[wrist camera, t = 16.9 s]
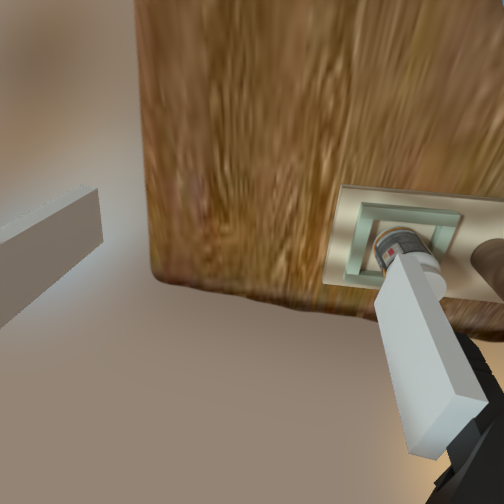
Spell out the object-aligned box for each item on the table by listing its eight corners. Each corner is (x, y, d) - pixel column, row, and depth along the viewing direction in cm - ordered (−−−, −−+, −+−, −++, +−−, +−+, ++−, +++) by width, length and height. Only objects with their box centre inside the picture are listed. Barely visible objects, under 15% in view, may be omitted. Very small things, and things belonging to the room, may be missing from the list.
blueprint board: (341, 184, 40) (356, 223, 30) (564, 203, 38) (660, 252, 28) (322, 277, 47) (329, 334, 37) (509, 297, 45) (570, 363, 35)
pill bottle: (362, 249, 42) (379, 296, 34) (393, 215, 39) (421, 257, 31) (396, 270, 43) (421, 321, 35) (429, 238, 40) (465, 285, 32)
